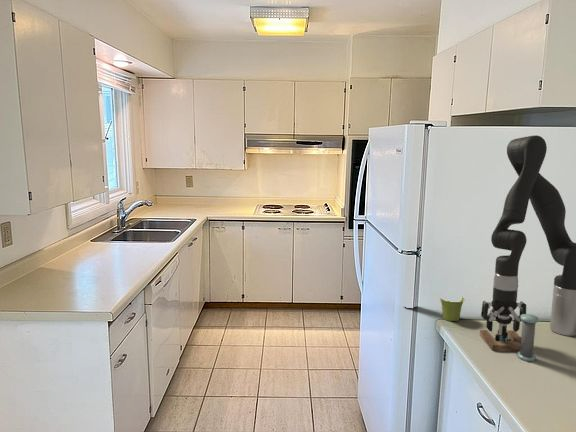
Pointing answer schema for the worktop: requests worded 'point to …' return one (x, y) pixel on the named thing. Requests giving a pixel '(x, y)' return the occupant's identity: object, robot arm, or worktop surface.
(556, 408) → the worktop surface
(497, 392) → the worktop surface
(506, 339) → the push button
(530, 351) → the spool
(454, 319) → the plant pot
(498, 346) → the notched board
